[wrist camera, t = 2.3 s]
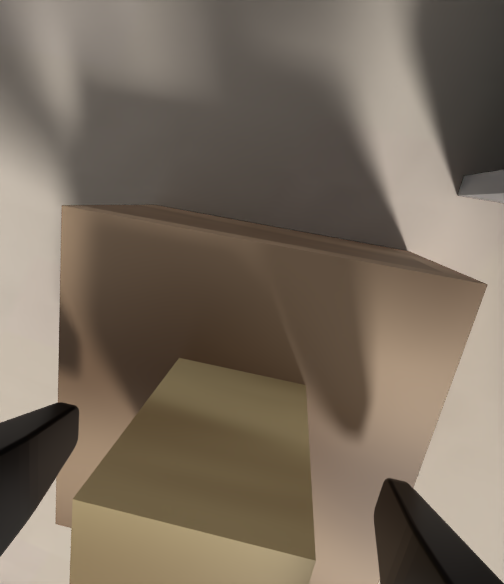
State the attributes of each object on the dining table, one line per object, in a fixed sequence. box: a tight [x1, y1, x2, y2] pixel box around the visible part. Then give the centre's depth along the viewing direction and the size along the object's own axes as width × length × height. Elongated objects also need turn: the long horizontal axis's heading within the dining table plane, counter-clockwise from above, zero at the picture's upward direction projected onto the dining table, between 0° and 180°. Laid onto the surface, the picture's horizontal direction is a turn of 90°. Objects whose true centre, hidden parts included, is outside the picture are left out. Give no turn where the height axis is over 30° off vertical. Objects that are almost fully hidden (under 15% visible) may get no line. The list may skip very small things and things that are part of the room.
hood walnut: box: [56, 205, 487, 584], centre depth 9 cm, size 9×9×9 cm
